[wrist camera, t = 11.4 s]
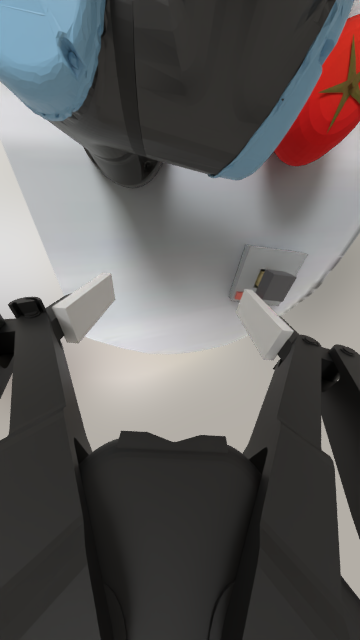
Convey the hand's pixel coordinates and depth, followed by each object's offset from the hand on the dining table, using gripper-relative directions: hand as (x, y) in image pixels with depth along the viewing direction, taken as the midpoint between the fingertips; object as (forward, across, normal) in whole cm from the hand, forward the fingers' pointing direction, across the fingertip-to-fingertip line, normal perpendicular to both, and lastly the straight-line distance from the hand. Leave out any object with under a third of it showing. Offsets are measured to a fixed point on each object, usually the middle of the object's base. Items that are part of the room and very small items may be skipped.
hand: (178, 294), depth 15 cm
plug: (+27, +23, -4) cm, 35 cm away
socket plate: (+27, +23, -4) cm, 35 cm away
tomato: (+27, +18, +22) cm, 39 cm away
